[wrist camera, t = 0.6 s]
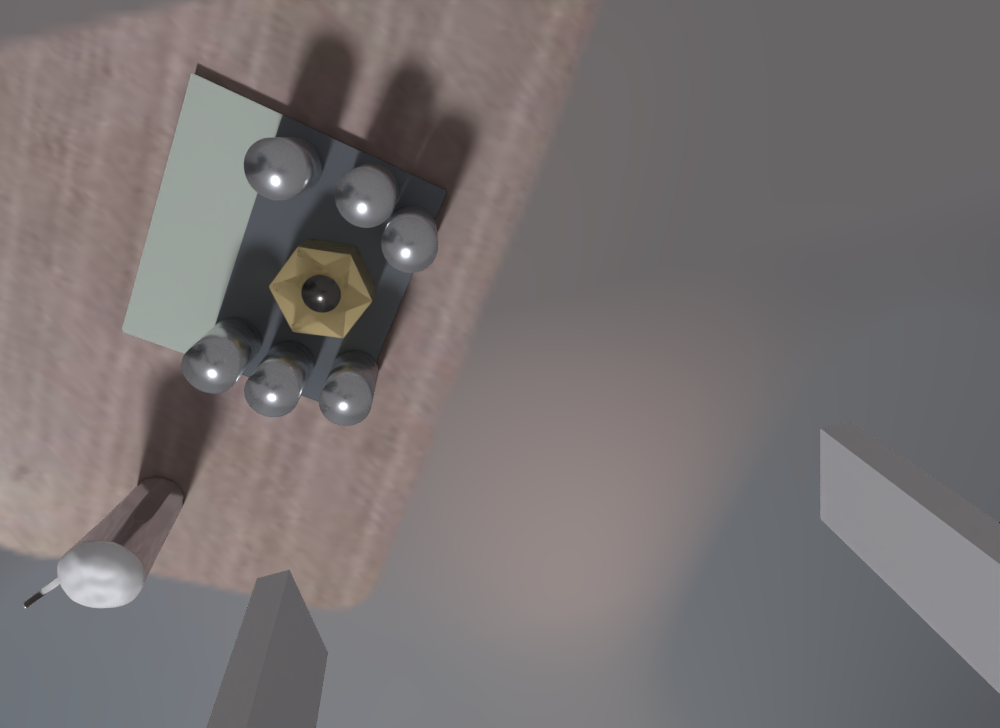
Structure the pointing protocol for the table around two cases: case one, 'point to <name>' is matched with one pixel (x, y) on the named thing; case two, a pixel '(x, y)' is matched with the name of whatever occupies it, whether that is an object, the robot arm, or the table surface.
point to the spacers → (289, 364)
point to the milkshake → (119, 548)
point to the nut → (323, 288)
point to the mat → (253, 234)
